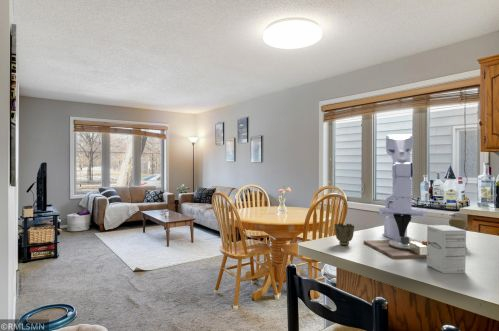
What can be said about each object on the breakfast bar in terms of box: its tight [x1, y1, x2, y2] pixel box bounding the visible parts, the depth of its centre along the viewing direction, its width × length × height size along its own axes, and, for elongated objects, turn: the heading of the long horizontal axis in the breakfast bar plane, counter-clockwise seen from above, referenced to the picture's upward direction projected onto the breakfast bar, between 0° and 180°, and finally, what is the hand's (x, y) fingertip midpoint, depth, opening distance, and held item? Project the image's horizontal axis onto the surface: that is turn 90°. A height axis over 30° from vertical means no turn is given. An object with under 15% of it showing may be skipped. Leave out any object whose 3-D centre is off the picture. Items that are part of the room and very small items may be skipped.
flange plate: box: [389, 239, 427, 255], centre depth 111 cm, size 16×11×3 cm, turn 3°
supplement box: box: [426, 224, 467, 274], centre depth 92 cm, size 7×7×13 cm
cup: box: [333, 222, 355, 247], centre depth 119 cm, size 8×7×8 cm
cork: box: [448, 217, 466, 230], centre depth 117 cm, size 6×6×11 cm
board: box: [363, 235, 427, 260], centre depth 113 cm, size 20×22×5 cm
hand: (401, 236), depth 106 cm, fingers closed
